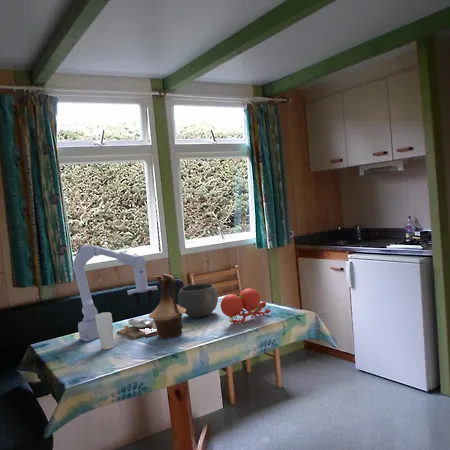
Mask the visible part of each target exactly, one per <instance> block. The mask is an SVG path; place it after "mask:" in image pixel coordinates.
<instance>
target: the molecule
mask: <svg viewBox="0 0 450 450" xmlns="http://www.w3.org/2000/svg"><path fill="white" fill-rule="evenodd" d="M266 306H267V302H266V301H264V300H262V301H261V295H260V293H259V292H258V291H257V290H256V289H254V288H249V287H248V288H245V289H243V290H242V291H241V292H240V294H239V295H237V294H234V293H231V294H227V295H225V296H224V297H222V299H221V302H220V310H221V312H222V313H223V314H224V315H225V316H226V317H228V319H229V320H228V322H229V323H231V324H237V325H239V323H241V324H244V322H246V319H247V317H250V316H251V317H250V318H251V319H254V317H257V315H259V316H261V315H262V316H265V315H266V314H267V315H268V314H269V313H271V312H272V310H271V309H270V306H268V307H266ZM264 308H265V309H264ZM267 308H268V309H267ZM238 316H239V317H238ZM240 317H241V318H240Z"/></svg>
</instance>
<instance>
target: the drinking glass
mask: <svg viewBox="0 0 450 450" xmlns="http://www.w3.org/2000/svg"><path fill="white" fill-rule="evenodd" d="M95 317H96V325H97V329H98V334H99V340H100V347H101V350H104V351H106V350H111V349H113V348H114V346H115V343H114V342H115V341H114V328H113V327H114V326H113V317H112V313H111V312H109V311H107V312H100V313H98V314H97V315H96V316H95Z"/></svg>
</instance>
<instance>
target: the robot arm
mask: <svg viewBox="0 0 450 450" xmlns="http://www.w3.org/2000/svg"><path fill="white" fill-rule="evenodd" d="M94 256H95V257H99V256H105V257H110V258H112V259H117V262H118V263H121V264H125V265H128V266H133V275H134V281H135V283H134V284H135V288H133V289H129V290H126V292H127V295H128V296H130V295H133V296H134V298H135V299H136V302H137V303H138V306H139V308H142V305H141V298H140V293H146V297H147V305H148V307H150V306H151V299H152V294H153V291H158V286H157V285H152V286H149V285H148V279H147V271H146V264H147V261H146V258H145V257H143V256H141V255H139V254H138V253H134V252H133V253H132V252H128V250H125V249H124V250H121V251H114V250H112V249H108V248H104V247H102V246H98V245H89V244H83V245H81V246H80V247H79V248H78V249H77V251H76V255H75V257H74V259H73V262H72V267H73V270H74V271H73V272H74V275H75V276H74V277H75V279H76V282H77V288H78V291H79V295H80V299H81V303H82V308H81V313H82V314H83V316H84V317H83V318H82V321H80V322H78V325H77V329H78V335H79V337H78V338H79V340H81V341H84V342H89V341H93V340H96V339H98V338H99V334H98V329H97V325H96V317H95V316H96V315H97V314H99V311H98V309H97V308H96V306H95V304H94V301H93V299H92V294H91V291H90V286H89V282H88V279H87V278H88V277H87V275H86V274H87V273H86V270H85V265H86V264H87V263H88V262H89V261H90V260H91V259H92V258H94ZM99 339H100V338H99Z"/></svg>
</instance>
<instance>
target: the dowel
mask: <svg viewBox="0 0 450 450" xmlns="http://www.w3.org/2000/svg"><path fill="white" fill-rule="evenodd" d="M128 327H129V325H124V327H123V329H125V333H128V332H129V329H128Z"/></svg>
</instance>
